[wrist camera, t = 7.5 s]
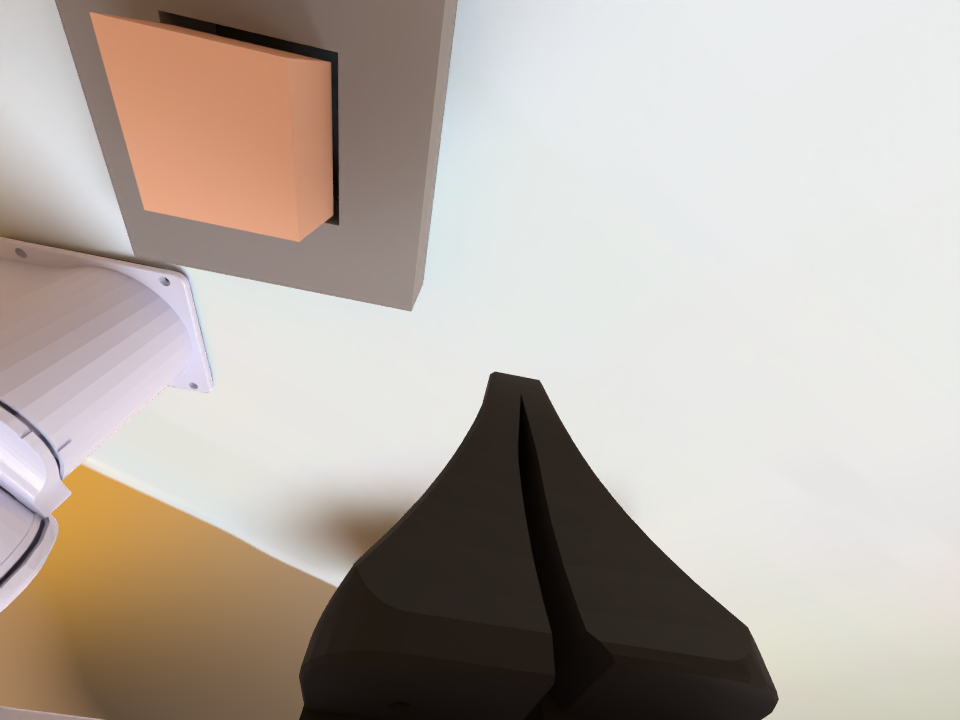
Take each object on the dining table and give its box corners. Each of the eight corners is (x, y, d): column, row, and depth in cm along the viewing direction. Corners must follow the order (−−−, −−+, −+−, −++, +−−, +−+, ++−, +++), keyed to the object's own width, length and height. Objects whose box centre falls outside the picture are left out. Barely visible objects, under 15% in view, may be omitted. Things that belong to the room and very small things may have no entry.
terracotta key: (204, 188, 16) (144, 209, 13) (174, 25, 13) (89, 11, 10) (333, 215, 16) (299, 241, 13) (331, 62, 13) (287, 57, 11)
